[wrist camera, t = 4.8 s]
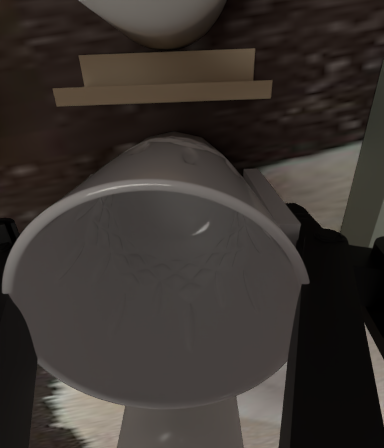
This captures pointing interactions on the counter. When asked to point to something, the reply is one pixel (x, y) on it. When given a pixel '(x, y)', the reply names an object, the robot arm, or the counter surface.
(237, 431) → the grey tapered cylinder
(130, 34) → the white pillar candle
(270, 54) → the counter surface
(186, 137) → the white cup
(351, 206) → the tray
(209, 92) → the rack
